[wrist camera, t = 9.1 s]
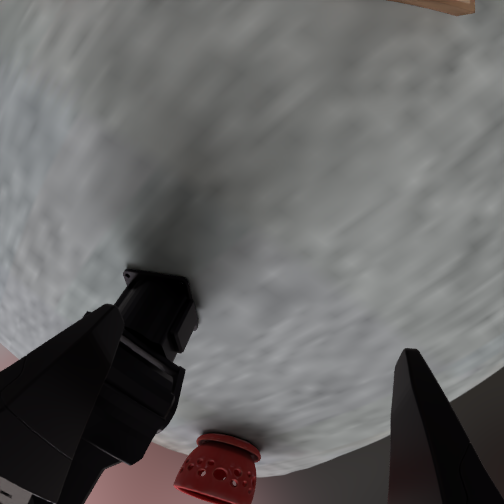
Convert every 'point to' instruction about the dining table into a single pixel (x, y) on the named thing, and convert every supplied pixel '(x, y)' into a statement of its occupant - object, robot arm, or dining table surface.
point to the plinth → (444, 5)
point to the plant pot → (220, 470)
